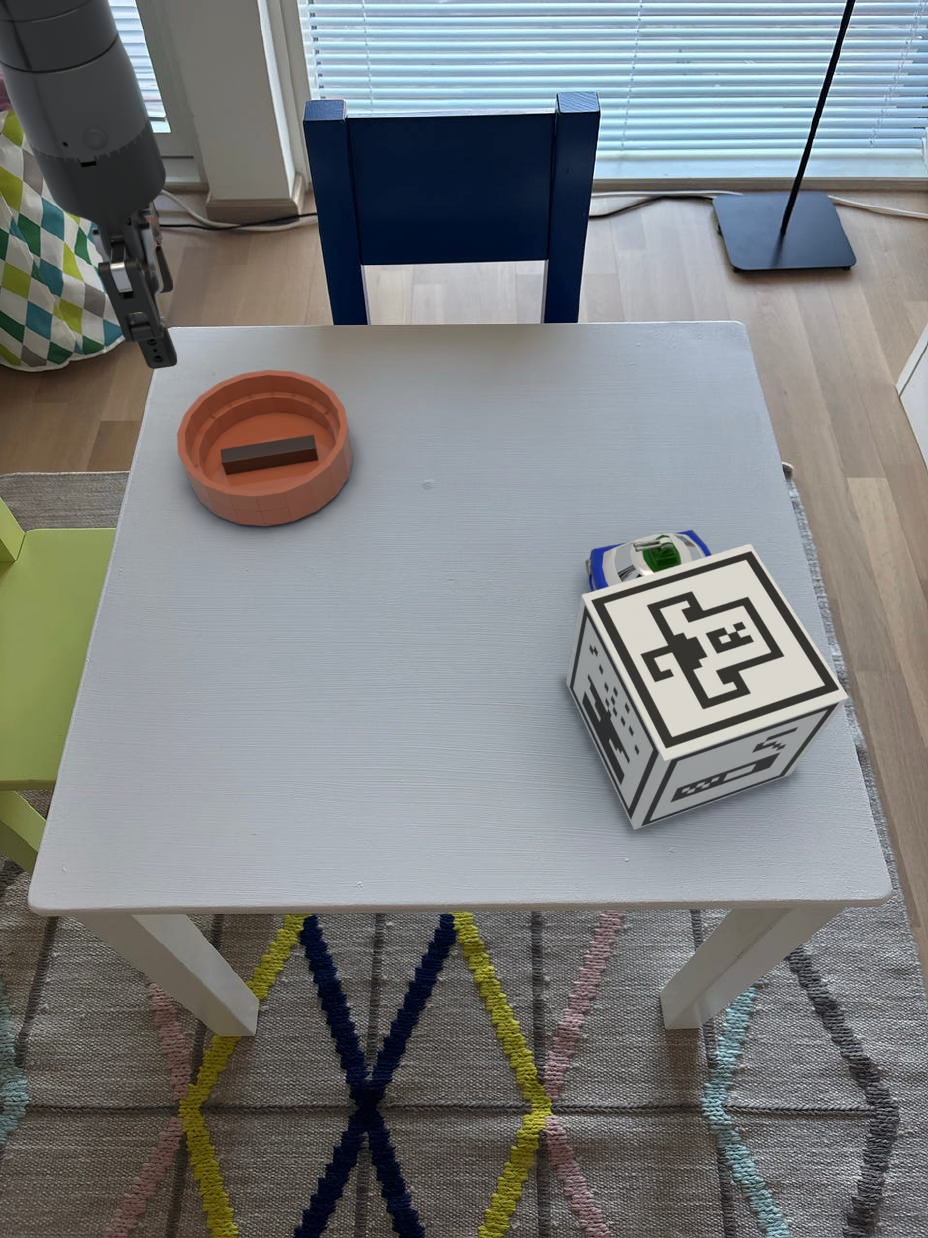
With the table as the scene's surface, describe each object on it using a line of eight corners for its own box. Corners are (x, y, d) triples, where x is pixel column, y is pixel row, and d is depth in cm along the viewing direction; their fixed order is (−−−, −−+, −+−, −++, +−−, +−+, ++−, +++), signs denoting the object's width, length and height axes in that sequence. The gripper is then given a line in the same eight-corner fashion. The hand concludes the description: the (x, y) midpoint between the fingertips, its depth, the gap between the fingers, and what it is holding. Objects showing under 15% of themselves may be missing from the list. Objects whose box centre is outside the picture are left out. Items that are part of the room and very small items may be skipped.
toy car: (577, 571, 92) (586, 512, 84) (690, 548, 93) (710, 488, 85) (605, 649, 87) (618, 594, 79) (723, 624, 88) (748, 568, 80)
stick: (318, 460, 99) (315, 447, 98) (226, 475, 98) (221, 462, 97) (316, 446, 100) (313, 434, 99) (224, 461, 100) (220, 448, 98)
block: (790, 774, 80) (849, 697, 67) (634, 830, 78) (664, 760, 65) (710, 636, 88) (750, 543, 75) (566, 683, 85) (581, 594, 73)
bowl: (195, 541, 95) (180, 508, 90) (188, 419, 104) (174, 383, 99) (363, 513, 96) (357, 479, 92) (342, 395, 105) (335, 359, 101)
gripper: (29, 65, 60) (113, 274, 74) (16, 194, 53) (112, 399, 66) (144, 52, 61) (206, 261, 75) (148, 177, 53) (216, 383, 67)
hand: (162, 326), depth 70 cm, fingers open, 8 cm apart
